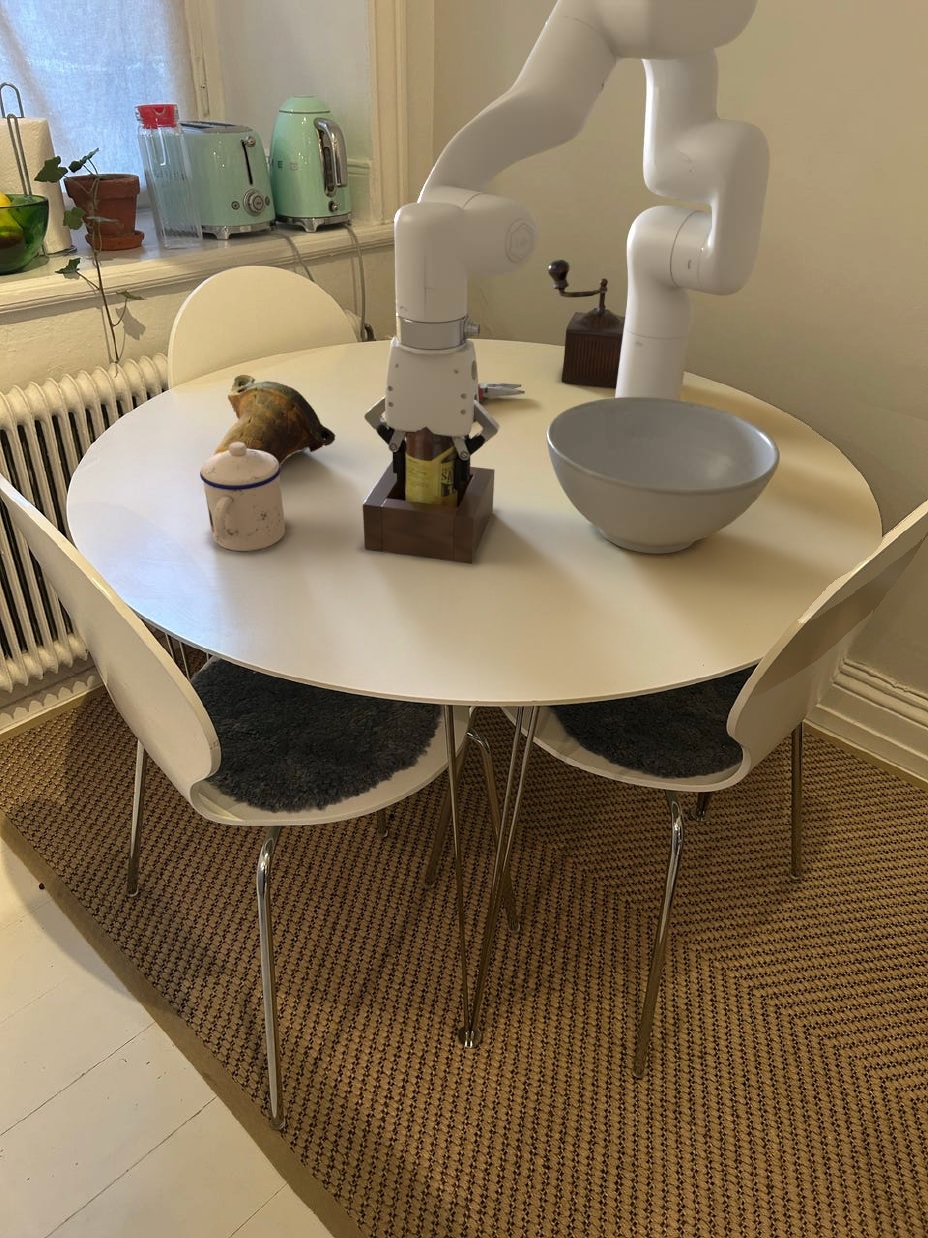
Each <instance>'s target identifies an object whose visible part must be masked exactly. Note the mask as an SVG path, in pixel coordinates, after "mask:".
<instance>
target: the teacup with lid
mask: <svg viewBox="0 0 928 1238" xmlns="http://www.w3.org/2000/svg"><path fill="white" fill-rule="evenodd" d="M213 455H214V454H213ZM213 455H212V456H210V457H209V458H207V459H206V460H205V461H204V462H203V463H202V465H201V468H200V472H199V476H200V479H201V480H202V482H203V487H204V493H205V499H206V505H207V512H208V518H209V523H210V530H211V535H212V538H213V541H214V542H215V543H216V544H217V545H219V546H220V547H222V548H224V549H227V550H231V551H236V552H237V551H238V552H251V551H252V552H253V551H258V550H262V549H265V548H268V547H272V546H274V545H275V544H276V543H278V542H279V541H281V539H282V538H283V537H284V535H285V533H286V523H285V522H286V521H285V513H284V505H283V504H284V503H283V495H282V486H281V478H280V474H281V471H282V468H281V465H280V464H279V462H278V461H277V459H276V458H275V457H274V456H272V455H271V454H269V453H266V452H263V451H259V450H252V449H247V447H246V445H245V444H244V443H242V442H234V443H232V444H230V445H229V450H227V451H225V452H222V453H219V454H216V455H214V456H213Z"/></svg>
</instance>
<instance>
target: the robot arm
mask: <svg viewBox="0 0 928 1238" xmlns="http://www.w3.org/2000/svg"><path fill="white" fill-rule="evenodd" d="M757 4H758V0H557V1H556V2H555V5H554V7H553V8H552V11H551V13H550V15H549V16H548V19H546V22H545V24H544V26H543V28H542V30H541V32H540V34H539V36H538V38H537V40H536V42H535V44H534V46H533V47H532V49H531V51H530V53H529V55H528V57H527V59H526V61H525V62H524V65H523V66H522V69H521V71H520V73H519V74H518V76H517V78H516V80H515V81H514V83H513V85H512V86H511V87H510V88H509V89H508V90H507V91H506V92H504V93H503V94H502V95H500V96H499V97H498V98H496V99H495V100H493V101H492V102H491V103H490V104H488V105H487V106H485V108H484V109H482V110H481V111H480V112H479V113H478V114H476V116H475V117H473V118H472V119H471V120H470V121H469V122H468V123H467V124H465V125H464V126H463V127H462V128H461V129H460V130H459V131H458V132H457V133H456V134H455V135H454V136H453V137H452V138H451V139H450V141H448V143H447V144H446V146H445V147H444V148H443V150H442V152H441V153H440V155H439V157H438V159H437V161H436V162H435V164H434V166H433V168H432V170H431V172H430V174H429V176H428V178H427V179H426V181H425V184H424V185H423V188H422V190H421V192H420V195H419V198H418V200H417V202H411V203H407V204H404V205H402V206H401V207H400V208H399V209H397V212H396V214H395V216H394V227H393V228H394V230H393V231H394V270H395V271H394V280H395V323H396V325H395V327H396V329H395V330H396V336H394V337H393V338H392V340H391V343H390V346H389V352H388V359H387V367H386V377H385V378H386V379H385V391H384V392H385V394H384V395H383V396H382V397H381V399H379V400H378V401H377V402H376V403H375V404H374V405H372V407H370V408H369V409H368V410H367V412H366V413H365V414H364V420H365V421H366V422H367V423H368V424H369V426H371V427H372V428H373V430H375V431H376V434H377V435H378V436H379V437H380V438H381V439H382V440H383V441H384V442H385V444H386V445H388V449H389V451H390V452H391V454H392V460H393V473H397V483H398V484H402V483H404V481H405V449H406V432H416V431H417V430H421V429H422V428H424V427H427V428H428V429H429V430H430V431H431V432H432V433H434V434H437V435H442V436H450V437H452V440H453V442H454V445H455V447H456V449H457V452H458V455H457V457H456V459H455V462H454V489H456V490H457V491H460V490H461V488H462V486H463V484H464V482H468V481H469V477H470V467H471V457H472V455H474V453H475V452H477V451H478V450H479V449H481V448H482V446H484V445H485V444H486V443H487V442H489V441H490V440H491V439H493V437H494V436H496V435H497V434H498V431H499V430H500V428H501V427H500V424H499V423H498V422H497V421H496V420H495V418H494V417H493V415H491V414H490V413H489V412H488V411H487V409H485V407H484V406H482V403H479V396H478V384H479V376H478V374H479V373H478V363H477V355H476V349H475V345H474V344H475V343H474V342H473V341H472V340H470V339H469V338H472V337H480V333H481V324H480V323H478V322H474V321H471V319H470V318H469V313H468V285H469V284H468V283H469V282H468V281H469V279H470V278H471V277H500V276H507V275H510V274H513V273H516V272H518V271H519V270H521V269H522V268H523V267H525V266H526V265H527V264H528V263H529V262H530V260H532V258H533V256H534V255H535V254H536V250H537V248H538V243H539V238H540V231H539V225H538V221H537V220H536V219H537V218H536V217H535V215H534V213H533V212H532V211H531V209H530V208H528V207H527V206H526V205H524V204H523V203H522V202H520V201H517V200H515V199H512V198H509V197H505V196H500V195H495V194H490V193H486V192H483V191H484V190H485V189H486V187H487V186H488V185H489V183H490V182H492V181H493V180H494V179H495V178H496V177H497V176H498V175H499V174H500V173H501V172H503V171H504V170H506V169H507V168H509V167H511V166H512V165H514V164H516V163H518V162H520V161H523V160H525V159H527V158H531V157H533V156H536V155H539V154H542V153H544V152H548V151H550V150H552V149H555V148H557V147H559V146H562V145H564V144H567V143H568V142H571V141H572V140H574V139H575V138H576V137H578V136H579V135H580V134H581V133H582V131H583V130H584V128H585V126H586V124H587V122H588V120H589V118H590V116H591V114H592V112H593V111H594V109H595V107H596V105H597V103H598V101H599V99H600V98H601V95H602V94H603V92H604V89H605V88H606V85H607V84H608V82H609V81H610V78H611V76H612V74H613V73H614V71H615V69H616V67H617V66H618V63H619V62H620V61H622V60H623V59H635V60H636V59H638V60H641V62H642V64H643V68H644V72H645V79H646V92H645V93H646V94H645V96H646V98H645V116H644V117H645V118H644V120H645V121H644V133H643V134H644V135H643V153H642V155H643V156H642V171H643V172H642V174H643V175H642V176H643V180H644V184H645V186H646V188H647V189H648V190H649V191H650V192H651V193H653V194H655V195H656V196H660V197H663V198H666V199H673V200H677V201H683V202H688V203H694V204H695V203H696V204H700V205H705V206H709V207H710V208H711V212H708V211H704V210H700V209H695V208H694V209H693V208H687V207H683V206H676V205H666V204H665V205H656V206H652V207H649V208H646V209H645V210H644V211H642V212H641V213H639V215H638V216H637V217H636V218H635V219H634V221H633V222H632V224H631V227H630V229H629V230H628V236H627V239H626V240H627V241H626V264H627V265H626V266H627V297H626V308H625V309H626V310H625V316H624V317H625V325H624V331H623V339H622V347H621V355H620V363H619V371H618V379H617V386H616V388H615V396H614V398H619V397H655V398H666V399H674V400H681V395H682V394H681V393H682V388H683V382H684V375H685V370H686V365H687V359H688V353H689V347H690V342H691V337H692V336H691V335H692V331H693V325H694V310H693V309H694V307H693V303H692V299H691V295H690V292H689V290H691V291H695V292H700V293H704V294H708V295H709V294H710V295H714V296H723V297H725V296H730V295H734V294H736V293H738V292H739V291H741V290H742V289H743V288H744V287H745V285H746V284H747V283H748V281H749V279H750V277H751V275H752V273H753V270H754V268H755V264H756V261H757V255H758V251H759V246H760V245H759V243H760V239H761V232H762V223H763V218H764V210H765V204H766V195H767V189H768V182H769V173H770V162H771V161H770V160H771V157H770V156H771V155H770V146H769V142H768V140H767V137H766V135H765V133H764V131H763V130H762V129H761V128H760V127H758V126H757V125H756V124H754V123H751V122H749V121H744V120H738V119H727V118H720V117H719V115H718V112H717V102H718V86H719V62H718V57H717V53H716V49H717V48H721V47H723V46H726V45H728V44H730V43H731V42H733V41H734V40H736V39H737V38H738V37H739V36H740V35H741V34H742V33H743V32H744V31H745V29H746V28H747V26H748V25H749V23H750V21H751V20H752V17H753V15H754V13H755V11H756V7H757ZM382 414H384V415H385V416H384V417H385V418H384V417H383V415H382ZM474 423H478V424H479V426H480V427H481V428H482V429H481V430H480V431H479V432H477V433H475V434H474V436H471V431H472V427H473V424H474Z"/></svg>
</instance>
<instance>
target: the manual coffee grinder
mask: <svg viewBox="0 0 928 1238" xmlns="http://www.w3.org/2000/svg"><path fill="white" fill-rule="evenodd" d="M570 268H571V267H570V264H569V262H568V261H566V260H564V259H556V260H553V261H551V263H549V264H548V266H547V273H548V276H550V278H551V279H552V280H553V286H552V289H553V290H557V291H558V294H559V296H561V297H563V298H570V299H571V298H586V297H593V296H597V295H599V299H598V300H599V301H598V307H594V308H592V309H591V310H589V311H587V312H582V311H581V312H579V311H575V312H574V314H573V315H572V317H571V319H570V321H569V322H568V324H567V326H566V328H565V329H566V330H565V338H564V339H565V340H564V354H563V365H562V373H561V382H562V383H564V384H570V385H580V386H587V387H595V388H596V387H597V388H606V389H607V388H608V389H609V388H610V389H616V386H617V379H618V371H619V363H620V355H621V347H622V339H623V331H624V325H625V317H626V316H621V315H619V314H616V313H615V312H613V311H611V310H610V309H607V308H606V305H605V300H606V293H607V292H608V291H609V290H608V286H607V285H608V283H609V280H608V279H607V278H605V277H604V278H601V280H600V281H599V285H600V286H599V288H598V289H594V290H587V291H586V290H585V291H565V290H566V289H567V288H568V287H569V286H570V283H569V282H568V279H567V278H568V274H569V272H570V270H571V269H570Z"/></svg>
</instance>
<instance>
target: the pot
mask: <svg viewBox="0 0 928 1238" xmlns="http://www.w3.org/2000/svg"><path fill="white" fill-rule="evenodd" d="M226 395H227V399H228V401H229V403H230V405H231V408H232V409H233V412H235V415H236V418H237V419H238V420H236V422H234V424H233V425H232V426H231V427H230V429H229V430H228V431H227V432H226V434H225V435H224V437H223V438H222V439H221V441H220V443H219V445H218V446H217V448H216V449H215V451H214V453H213V455H212V456H214V455H216V454H219V453H222V452H225V451H227V450H229V445H230V444H232V443H234V442H242V443H244V444H245V445H246V447H247V449H252V450H259V451H263V452H266V453H269V454H271V455H272V456H274V457H275V458H276V459H277V461H278V462H279V464H280V466H282V465H283V463H285V461H286V460H287V459H288V458H289V457H291V456H292V455H294V454H298V453H302V452H304V451H305V450H307V449H309V452H310V453H313V452H316V451H318V450H319V449H321V448H323V447H328V446H331V445H332V444H333V443H334V442H335V441H336V434H335V433H334V432H333V431H332V430H331V429H330V428H327V427H326V426H324V425H323V424H322V423H321V421H320V418H319V416H318V414H317V413H316V411H315V410H314V408H313V406H312V405H311V404H310V403H309V402H308V401H307V400H306V398H305V397H304V396H303V395H302V394H301V393H300V392H299V391H298V390H296V389H295V388H294V387H291V386H288V385H286V384H284V383H280V382H276V381H271V380H270V381H268V380H265V381H259V382H256V379H255V378H254V377H253V376H251V375H248V374H240V375H238V376H235V377H234V379H233V384H232V386H231V389H230V392H228V393H227V394H226Z"/></svg>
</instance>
